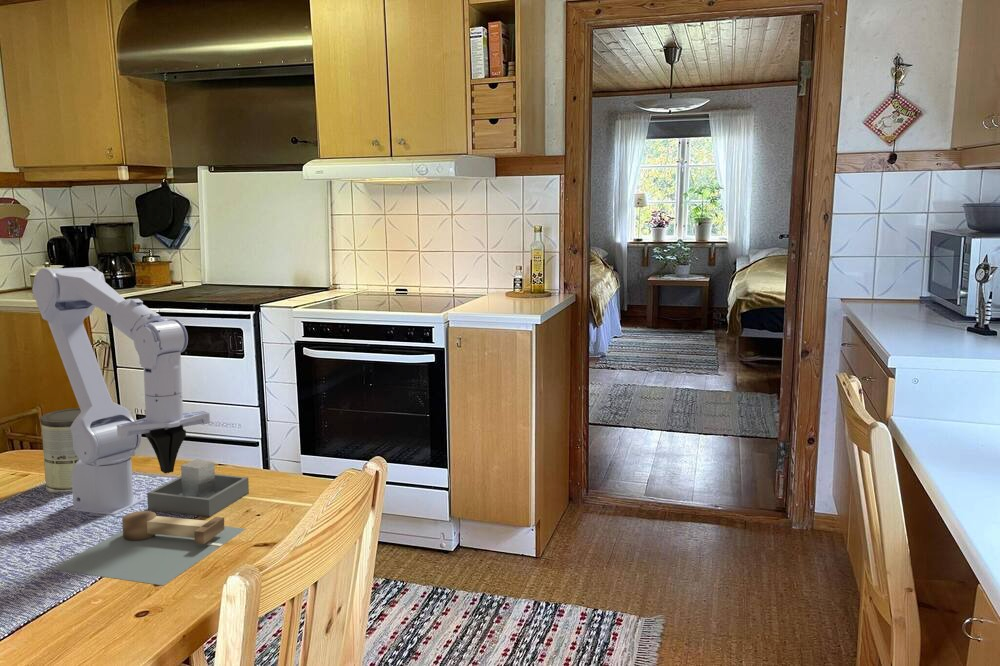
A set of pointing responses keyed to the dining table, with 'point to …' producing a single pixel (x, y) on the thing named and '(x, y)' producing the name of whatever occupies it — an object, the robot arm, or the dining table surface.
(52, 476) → the coffee can
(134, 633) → the dining table surface
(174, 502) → the tray
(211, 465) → the block
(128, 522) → the crank lever
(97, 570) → the crank board
